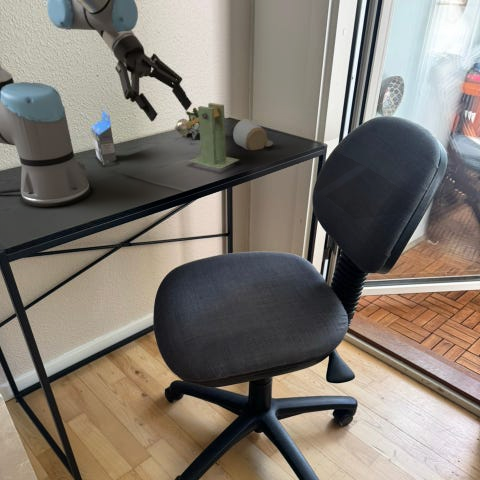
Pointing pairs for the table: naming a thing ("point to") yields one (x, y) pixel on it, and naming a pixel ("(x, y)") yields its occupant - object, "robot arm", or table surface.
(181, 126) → the lever
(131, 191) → the table surface
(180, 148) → the table surface
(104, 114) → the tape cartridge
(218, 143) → the bracket
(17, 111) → the robot arm
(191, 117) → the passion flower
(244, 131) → the ceramic mug
